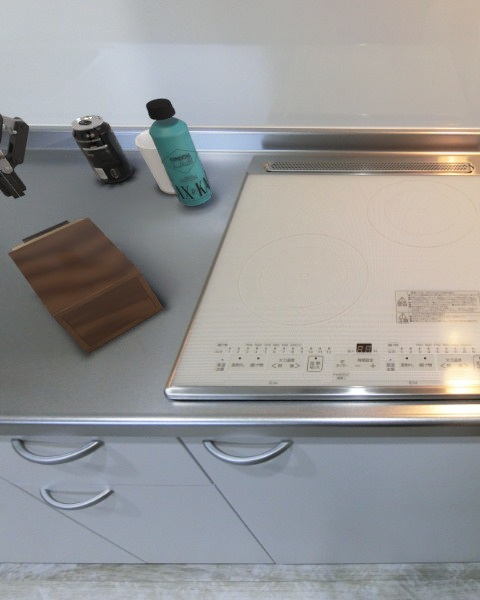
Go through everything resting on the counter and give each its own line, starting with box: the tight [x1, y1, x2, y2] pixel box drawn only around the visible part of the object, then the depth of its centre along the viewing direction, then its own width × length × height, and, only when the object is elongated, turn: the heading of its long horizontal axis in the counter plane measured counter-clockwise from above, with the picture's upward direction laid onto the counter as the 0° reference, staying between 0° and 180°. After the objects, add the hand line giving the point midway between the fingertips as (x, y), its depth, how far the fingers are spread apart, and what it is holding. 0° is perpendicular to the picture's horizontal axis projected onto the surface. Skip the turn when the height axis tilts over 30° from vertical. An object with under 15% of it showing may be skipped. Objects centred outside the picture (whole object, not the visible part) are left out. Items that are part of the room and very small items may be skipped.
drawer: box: [11, 217, 84, 252], centre depth 68 cm, size 21×10×7 cm, turn 47°
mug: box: [134, 128, 177, 195], centre depth 87 cm, size 11×9×10 cm
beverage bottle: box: [145, 97, 212, 207], centre depth 79 cm, size 6×7×20 cm
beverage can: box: [70, 114, 133, 184], centre depth 88 cm, size 7×7×12 cm
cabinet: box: [7, 217, 164, 354], centre depth 66 cm, size 18×12×9 cm, turn 47°
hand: (18, 195), depth 64 cm, fingers closed
